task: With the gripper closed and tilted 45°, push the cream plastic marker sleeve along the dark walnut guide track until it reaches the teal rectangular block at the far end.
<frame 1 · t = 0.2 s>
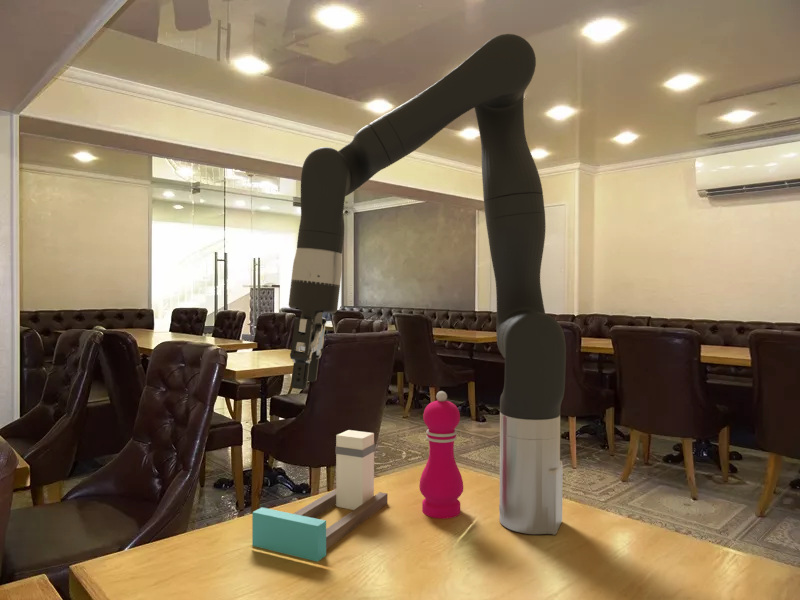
hand: (304, 384, 86), 22 cm above the table, tool pointing down, fingers open, 8 cm apart
marker sleeve: (355, 469, 94), point 6 cm above the table, slide at 0.0 cm
pepper mill: (441, 513, 92), on the table
teal rectangular block: (288, 552, 77), on the table
guide rails: (329, 524, 87), on the table
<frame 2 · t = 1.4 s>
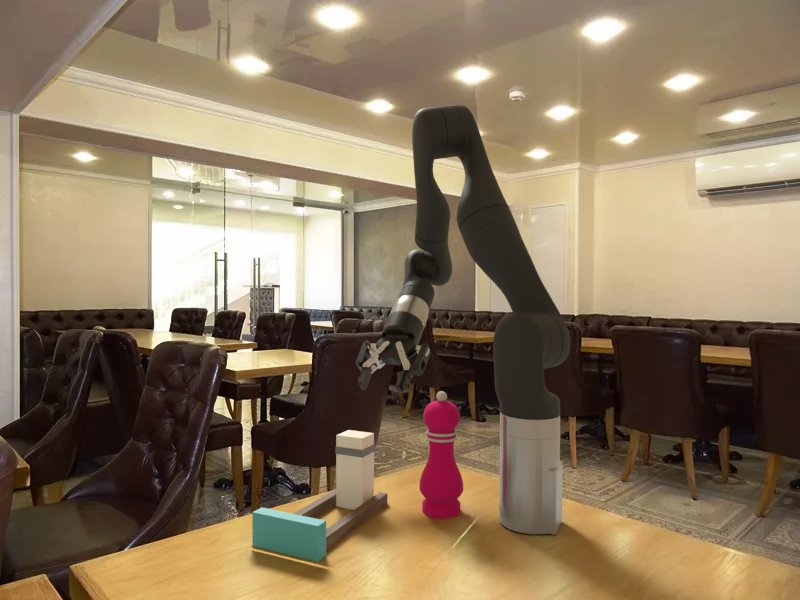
hand: (380, 388, 102), 19 cm above the table, tool tilted 45°, fingers open, 7 cm apart
nothing on the table moved.
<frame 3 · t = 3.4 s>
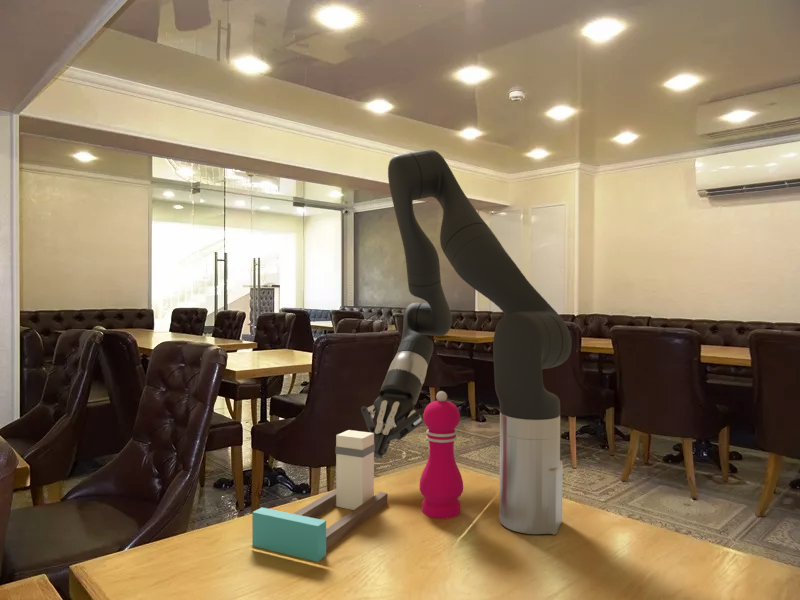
hand: (376, 455, 101), 7 cm above the table, tool tilted 45°, fingers closed
nothing on the table moved.
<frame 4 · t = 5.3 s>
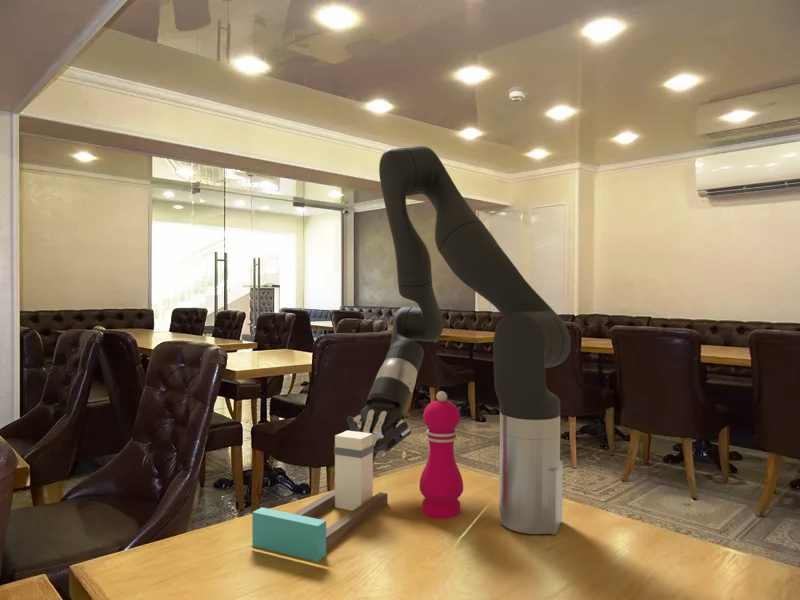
hand: (361, 468, 96), 6 cm above the table, tool tilted 45°, fingers closed
marker sleeve: (354, 470, 94), point 6 cm above the table, slide at 0.4 cm, touching gripper
everything else where it was.
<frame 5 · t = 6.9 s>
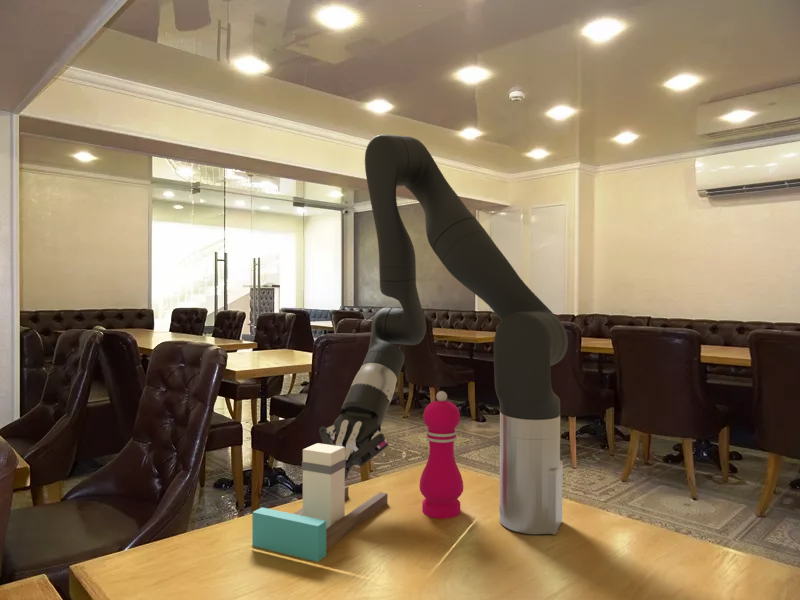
hand: (333, 485, 88), 6 cm above the table, tool tilted 45°, fingers closed
marker sleeve: (323, 487, 85), point 6 cm above the table, slide at 9.6 cm, touching gripper
everything else where it was.
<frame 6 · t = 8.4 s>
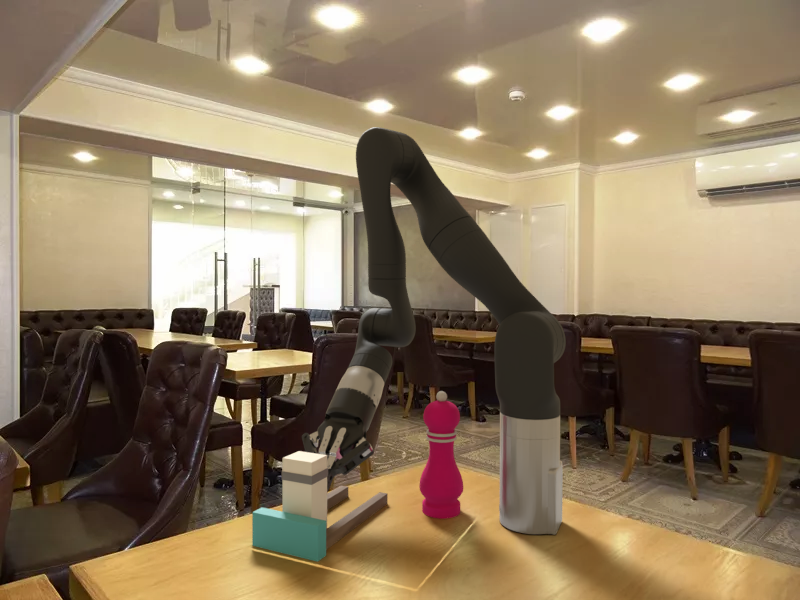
hand: (315, 495, 83), 6 cm above the table, tool tilted 45°, fingers closed
marker sleeve: (305, 497, 81), point 6 cm above the table, slide at 14.6 cm, touching gripper
everything else where it was.
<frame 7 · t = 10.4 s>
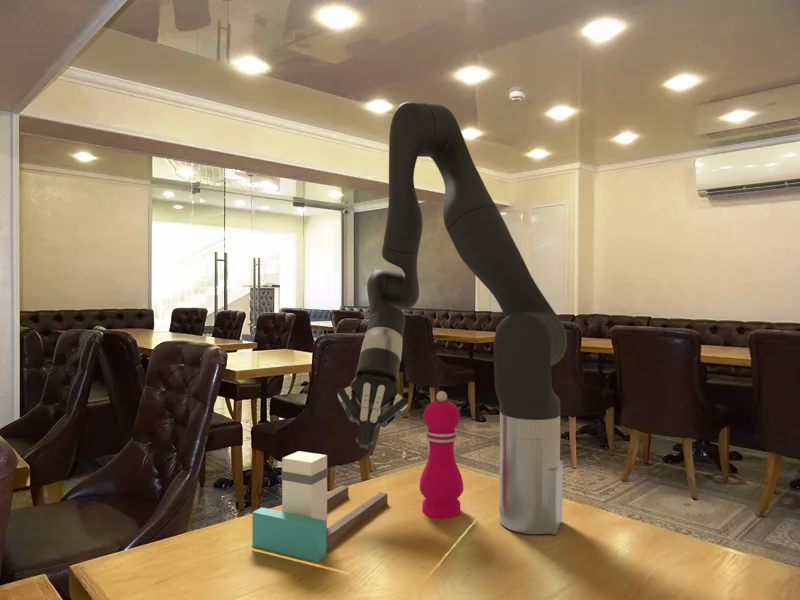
hand: (363, 446, 92), 11 cm above the table, tool tilted 40°, fingers closed
marker sleeve: (304, 497, 81), point 6 cm above the table, slide at 14.6 cm
everything else where it was.
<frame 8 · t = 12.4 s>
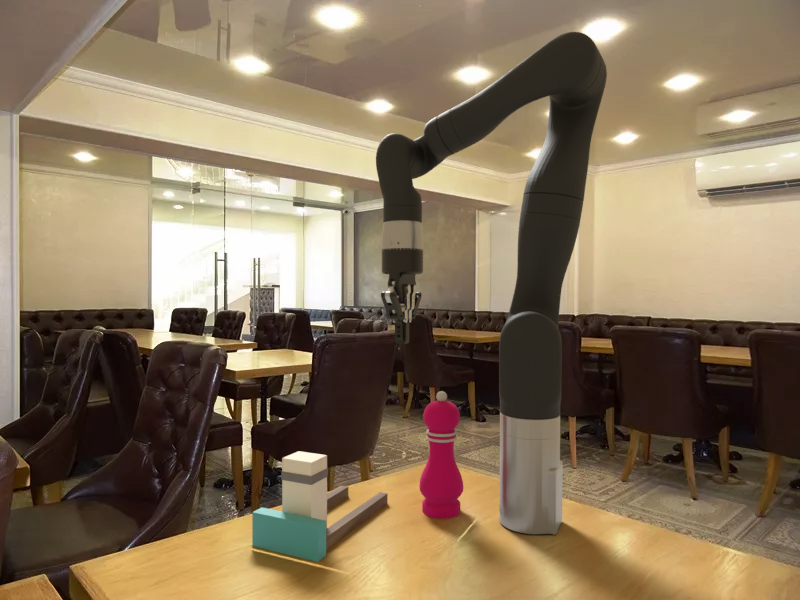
hand: (402, 343, 101), 27 cm above the table, tool pointing down, fingers closed
nothing on the table moved.
at the end: marker sleeve slide at 14.6 cm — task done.
